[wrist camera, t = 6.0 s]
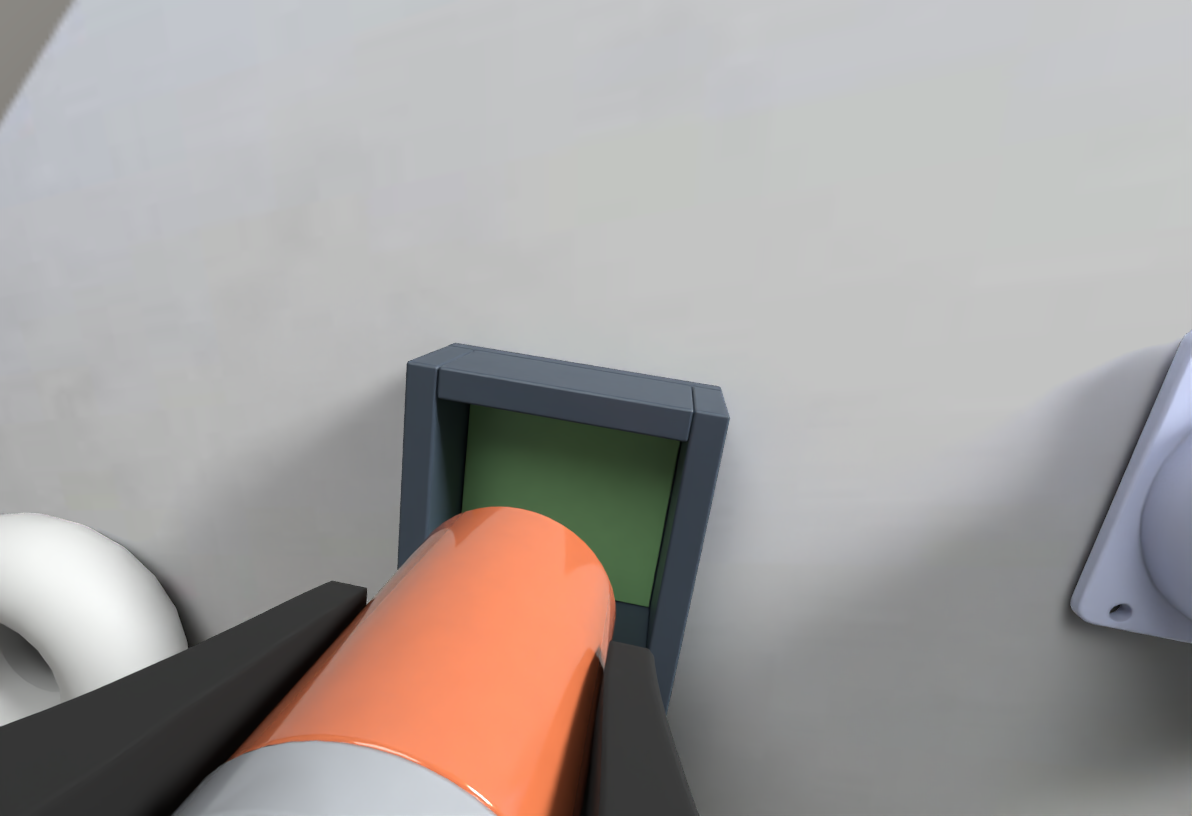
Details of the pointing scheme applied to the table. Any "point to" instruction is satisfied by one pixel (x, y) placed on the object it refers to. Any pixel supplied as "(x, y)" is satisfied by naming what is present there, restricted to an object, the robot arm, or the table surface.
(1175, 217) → the table surface
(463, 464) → the tray
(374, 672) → the salt shaker
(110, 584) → the donut
